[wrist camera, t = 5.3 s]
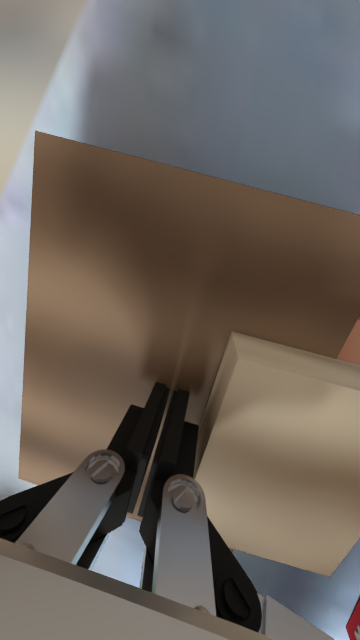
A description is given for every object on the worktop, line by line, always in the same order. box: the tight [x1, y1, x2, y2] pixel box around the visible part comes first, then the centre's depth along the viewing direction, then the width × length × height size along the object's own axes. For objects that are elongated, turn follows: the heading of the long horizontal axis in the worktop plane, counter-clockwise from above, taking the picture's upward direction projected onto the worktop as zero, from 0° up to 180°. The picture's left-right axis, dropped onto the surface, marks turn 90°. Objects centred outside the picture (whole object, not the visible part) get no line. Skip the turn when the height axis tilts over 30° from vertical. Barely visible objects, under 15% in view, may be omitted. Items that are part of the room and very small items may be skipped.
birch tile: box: [193, 332, 360, 577], centre depth 11 cm, size 9×7×2 cm
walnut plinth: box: [19, 131, 360, 552], centre depth 14 cm, size 19×14×4 cm
